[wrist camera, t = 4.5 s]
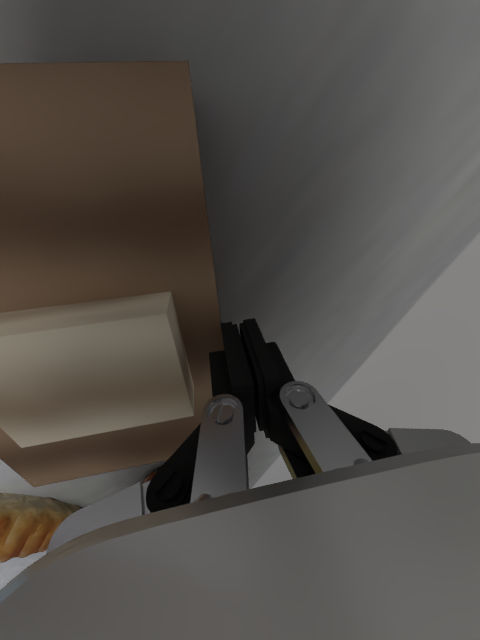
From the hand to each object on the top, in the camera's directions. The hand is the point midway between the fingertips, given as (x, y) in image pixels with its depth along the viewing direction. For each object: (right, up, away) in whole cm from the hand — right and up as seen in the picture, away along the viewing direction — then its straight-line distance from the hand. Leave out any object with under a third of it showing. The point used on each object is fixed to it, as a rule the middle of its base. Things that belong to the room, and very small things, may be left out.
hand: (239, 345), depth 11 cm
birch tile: (-7, -1, 0) cm, 7 cm away
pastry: (-21, -17, +11) cm, 29 cm away
